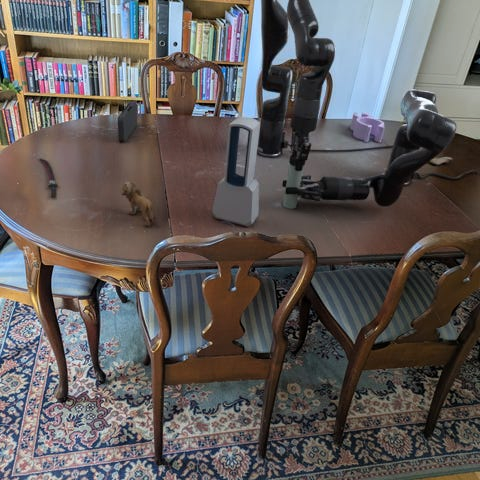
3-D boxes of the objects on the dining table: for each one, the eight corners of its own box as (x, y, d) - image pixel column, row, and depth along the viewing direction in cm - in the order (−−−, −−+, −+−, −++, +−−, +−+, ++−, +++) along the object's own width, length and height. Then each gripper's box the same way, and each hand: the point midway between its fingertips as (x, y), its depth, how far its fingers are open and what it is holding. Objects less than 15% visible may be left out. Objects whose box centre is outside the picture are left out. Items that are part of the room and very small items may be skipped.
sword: (61, 197, 141) (61, 193, 140) (50, 198, 139) (50, 194, 139) (49, 160, 164) (48, 156, 163) (39, 160, 163) (39, 157, 162)
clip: (343, 126, 223) (346, 112, 219) (367, 127, 225) (371, 113, 221) (360, 142, 206) (364, 127, 202) (386, 142, 209) (390, 127, 205)
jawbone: (444, 169, 189) (445, 165, 188) (396, 154, 200) (397, 150, 198) (451, 162, 195) (453, 157, 194) (405, 147, 205) (406, 143, 204)
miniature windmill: (295, 130, 212) (306, 61, 195) (276, 127, 213) (286, 58, 196) (297, 124, 219) (308, 57, 203) (279, 121, 220) (288, 54, 204)
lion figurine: (118, 210, 138) (116, 182, 133) (132, 204, 141) (131, 177, 137) (151, 229, 130) (150, 201, 126) (165, 223, 134) (165, 195, 129)
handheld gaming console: (131, 122, 200) (130, 99, 195) (137, 123, 200) (136, 100, 195) (117, 142, 181) (116, 117, 175) (124, 142, 181) (123, 117, 176)
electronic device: (258, 217, 142) (270, 121, 125) (250, 229, 135) (262, 130, 119) (220, 208, 144) (227, 113, 128) (210, 219, 138) (217, 120, 122)
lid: (286, 161, 143) (287, 154, 142) (298, 159, 146) (299, 152, 144) (295, 167, 140) (296, 160, 139) (307, 165, 142) (309, 158, 141)
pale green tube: (289, 201, 153) (298, 154, 144) (298, 206, 151) (307, 159, 142) (280, 203, 151) (288, 156, 142) (289, 209, 148) (297, 162, 139)
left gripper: (287, 104, 139) (279, 157, 149) (298, 120, 128) (289, 176, 137) (311, 105, 141) (302, 158, 150) (325, 121, 129) (314, 177, 138)
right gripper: (332, 168, 153) (281, 166, 151) (345, 188, 141) (290, 186, 139) (327, 188, 157) (278, 187, 155) (340, 209, 145) (286, 208, 143)
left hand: (296, 166), depth 143 cm, fingers open, 4 cm apart
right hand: (284, 187), depth 147 cm, fingers closed on pale green tube, 4 cm apart
